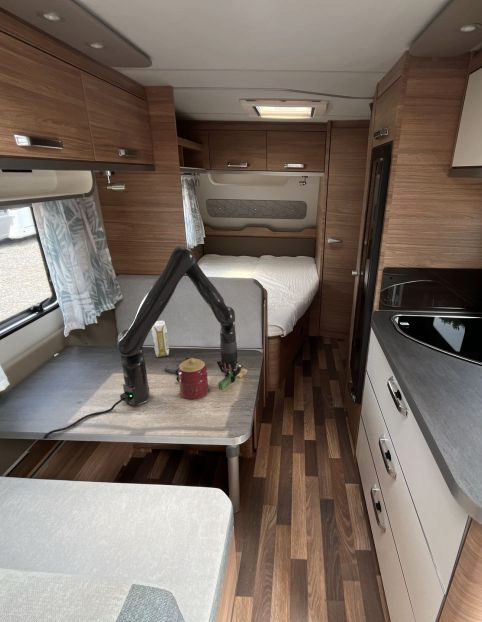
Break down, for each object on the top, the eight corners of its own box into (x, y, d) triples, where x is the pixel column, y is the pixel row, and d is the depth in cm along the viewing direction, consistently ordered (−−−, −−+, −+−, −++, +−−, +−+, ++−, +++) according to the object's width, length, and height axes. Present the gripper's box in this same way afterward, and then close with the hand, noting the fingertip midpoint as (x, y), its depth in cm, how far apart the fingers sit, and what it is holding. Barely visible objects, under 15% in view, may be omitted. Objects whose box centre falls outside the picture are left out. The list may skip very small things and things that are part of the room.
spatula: (225, 391, 154) (225, 385, 153) (215, 388, 156) (215, 382, 155) (247, 372, 170) (247, 366, 169) (238, 369, 172) (238, 363, 171)
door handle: (156, 372, 168) (182, 377, 162) (182, 355, 185) (206, 359, 179) (157, 378, 169) (183, 383, 163) (183, 360, 186) (207, 364, 180)
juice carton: (168, 349, 196) (164, 319, 190) (170, 355, 189) (166, 325, 182) (154, 351, 194) (150, 321, 187) (155, 358, 186) (151, 327, 179)
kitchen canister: (212, 395, 155) (209, 361, 148) (183, 402, 149) (179, 368, 143) (204, 381, 165) (201, 349, 159) (177, 388, 160) (173, 355, 153)
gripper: (211, 349, 155) (214, 381, 161) (236, 355, 150) (238, 388, 156) (221, 342, 161) (223, 373, 168) (245, 348, 156) (247, 380, 162)
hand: (230, 380), depth 162 cm, fingers closed on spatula, 2 cm apart
